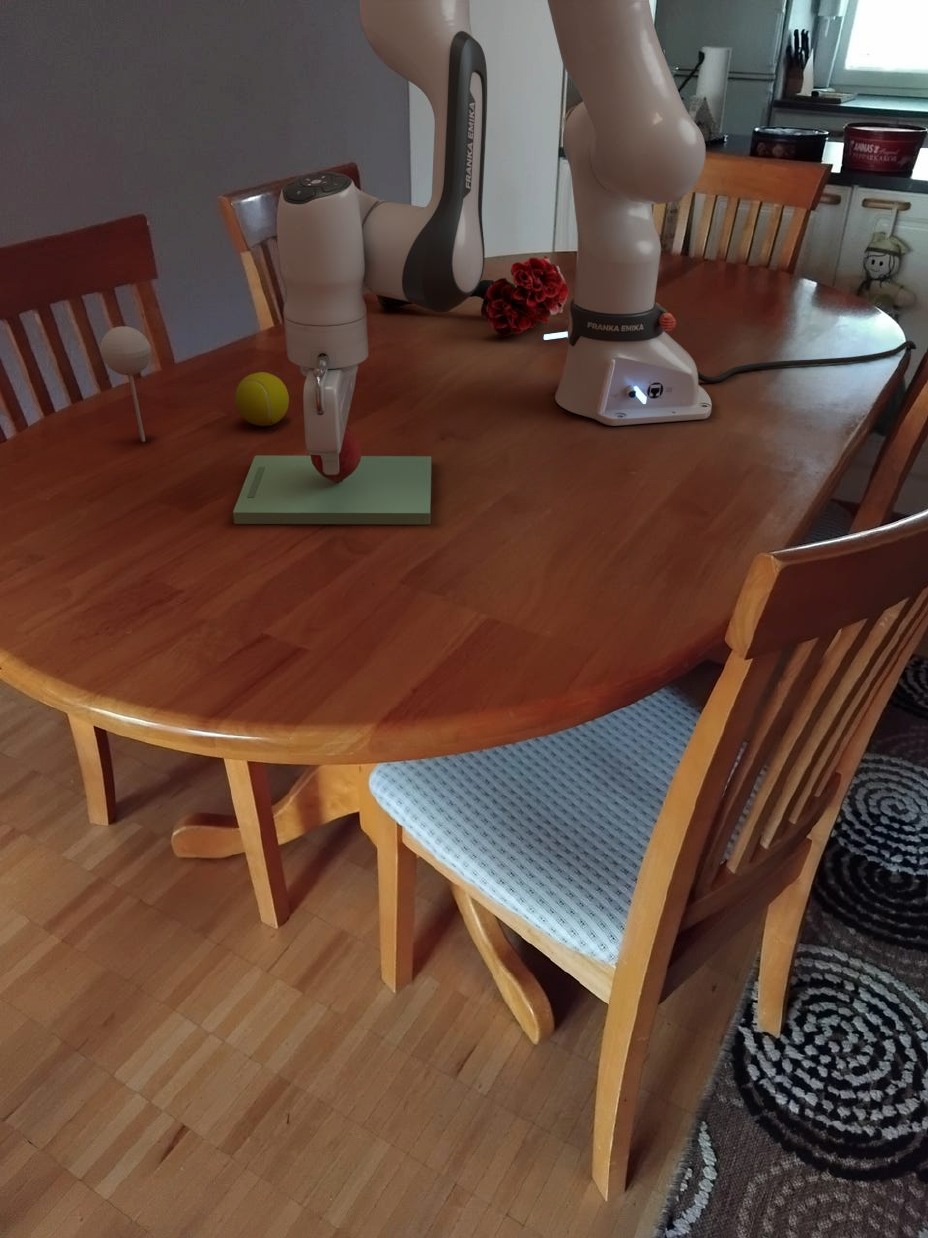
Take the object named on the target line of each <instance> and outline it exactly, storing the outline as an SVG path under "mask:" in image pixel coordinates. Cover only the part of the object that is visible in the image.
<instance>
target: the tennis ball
mask: <svg viewBox="0 0 928 1238" xmlns="http://www.w3.org/2000/svg"><path fill="white" fill-rule="evenodd" d="M234 397H235V398H234V400H235V401H234V402H235V406H236V410H237V412H238V413H239V415H240V416H241V417H242V419H244V420H245V421H246V422H247V423H249V424H252V425H254V426H258V427H271V426H273V425H275V424H277V423H279V422H280V421H281V420H282V419H283V418H284V417H285V415H286V414H287V411H288V409H289V404H290V396H289V392H288V389H287V387H286V385H285V383H284V382H283V381H282V380H281V379H280V378H279V377H278V376H276V375H274V374H272V373H269V372H264V371H259V372H254V373H251V374H249V375H247V376H245V377H244V378H243V379H242V380H241V381H240V382H239V383H238V385H237V387H236V389H235V396H234Z"/></svg>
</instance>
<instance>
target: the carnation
mask: <svg viewBox="0 0 928 1238" xmlns="http://www.w3.org/2000/svg"><path fill="white" fill-rule="evenodd" d="M510 273H511V276H512V280H513V282H510V281H508V279H507V278H506V277H502V278H499V279H496V280H495V281H494V280H493V279H481V281H480V283H479V285H478V287H477V289H476V290H475V291H474V292H473V293H472V294H471V295H470V296H469V297H468V298H473V297H477V298H479V299H481V300H482V303H481V309H480V314H481V317H483V318H484V319H486V320H487V321H488V323H489V325H490V326H491V328H492V329H494V330H495V331H496V333H497V334H498V335H499V336H500V337H502V338H505V337H507V336H512V335H514V334H515V335H519V334H520V333H523V332H524V331H525V330H527V329H528V328H531V329H533V328H534V327H535V326H537V325H538V322H540V323H542V324H543V325H548V324H549V319H550V316H553V315H554V316H555V315H557V314H558V313H560V314H562V313H563V310H564V309H563V307H564V305H566V302H567V299H568V298H567V297H568V296H569V294H570V288H569V287H568V285H567V284H566V280H565V277H564V275H563V274H562V273H561V269H560V267H559V265H556V264H554V263H551V259H550V258H549V257H548V256H547V255H544V257H543V258H538V257H530V258H528V259H527V260H525V261H524V262H518V261H517V262H515V263H513V264H511V268H510ZM375 295H376V299H377V302H378V304H379V305H380V306H381V307H382V308H384V309H391V308H395V307H396V308H398V307H403V306H408V305H413V304H412V303H410V302H409V301H404V300H399V299H395V298H390V297H385V296H381V295H377V294H375Z"/></svg>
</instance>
